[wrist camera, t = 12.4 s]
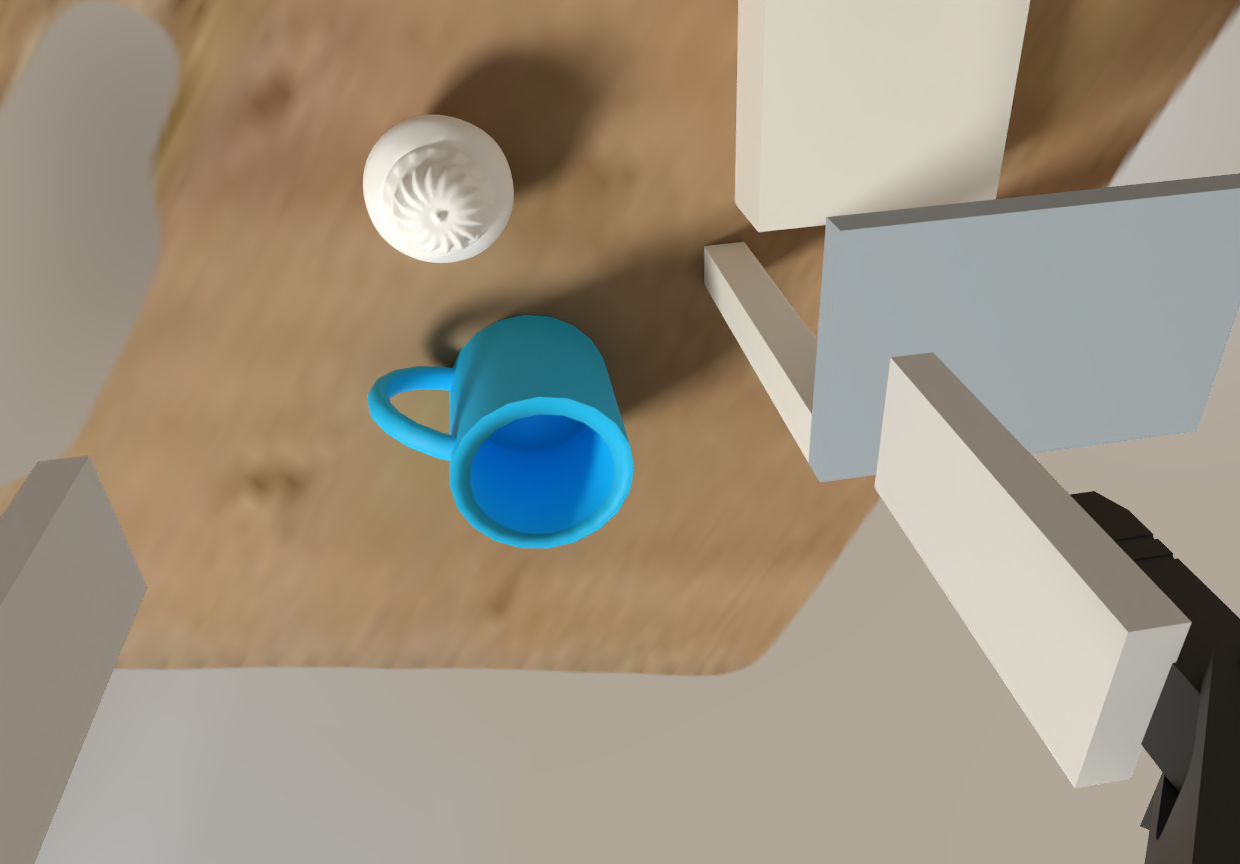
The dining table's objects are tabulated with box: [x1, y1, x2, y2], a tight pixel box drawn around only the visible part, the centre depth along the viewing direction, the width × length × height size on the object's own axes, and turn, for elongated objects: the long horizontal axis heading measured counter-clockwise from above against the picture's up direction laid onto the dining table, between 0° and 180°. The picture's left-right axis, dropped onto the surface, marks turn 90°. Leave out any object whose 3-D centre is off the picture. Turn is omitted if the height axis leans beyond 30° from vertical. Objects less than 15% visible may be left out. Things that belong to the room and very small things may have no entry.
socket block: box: [735, 0, 1030, 232], centre depth 38 cm, size 17×11×4 cm, turn 3°
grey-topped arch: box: [704, 174, 1240, 482], centre depth 37 cm, size 9×14×17 cm, turn 93°
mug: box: [367, 315, 634, 548], centre depth 44 cm, size 12×8×8 cm
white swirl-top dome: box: [363, 115, 514, 263], centre depth 38 cm, size 6×6×7 cm
